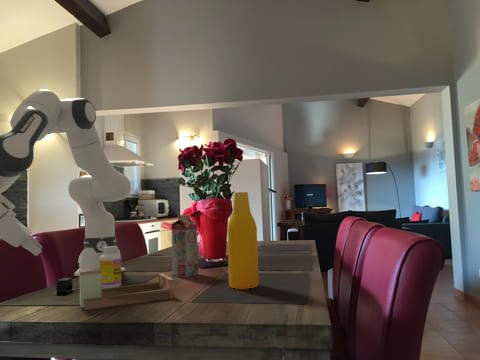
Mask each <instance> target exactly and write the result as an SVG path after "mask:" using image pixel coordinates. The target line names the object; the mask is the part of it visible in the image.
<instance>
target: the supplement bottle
mask: <svg viewBox="0 0 480 360" xmlns="http://www.w3.org/2000/svg"><path fill="white" fill-rule="evenodd" d="M118 249H119V246H117V245H115V246H106V247H103V252H104V254H103V255H102V256H101V257H100V269H101V272H102V273H101V289H103V288H111V287H119V286H122V271H121V267H122V255H121V254H120V255H119V254H118V253H117V251H118Z"/></svg>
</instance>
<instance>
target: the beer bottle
mask: <svg viewBox="0 0 480 360" xmlns="http://www.w3.org/2000/svg"><path fill="white" fill-rule="evenodd" d="M227 250H228V251H227V253H228V256H227V257H228V260H227V261H228V285H229V288H231V289H233V288H235V290H250V289H249V288H252V289H255V288H254V287H256V288H258V286H259V284H260V283H259V282H260V280H259V279H260V277H259V257H258V256H259V255H258V228H257V223H256V221H255V218H254V216H253V215H252V212H251V207H250V201H249V194H248V192H247V191H245V192H244V191H243V192H240V191H239V192H238V191H237V192H234V193H233V206H232V213H231V216H230V219H229V220H228V224H227Z"/></svg>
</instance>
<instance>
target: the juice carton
mask: <svg viewBox="0 0 480 360" xmlns="http://www.w3.org/2000/svg"><path fill="white" fill-rule="evenodd" d="M177 217H178V218H177V220H176V221H175V222H173V223H172V224H171V258H172V259H171V260H172V262H171V263H172V277H178V278H179V277H180V278H190V277H193V276H197V275H199V255H198V253H199V251H198V250H199V249H198V245H199V244H198V223H197V222H196V221H194V220H192V219H191V214H181V215H178V216H177Z"/></svg>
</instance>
